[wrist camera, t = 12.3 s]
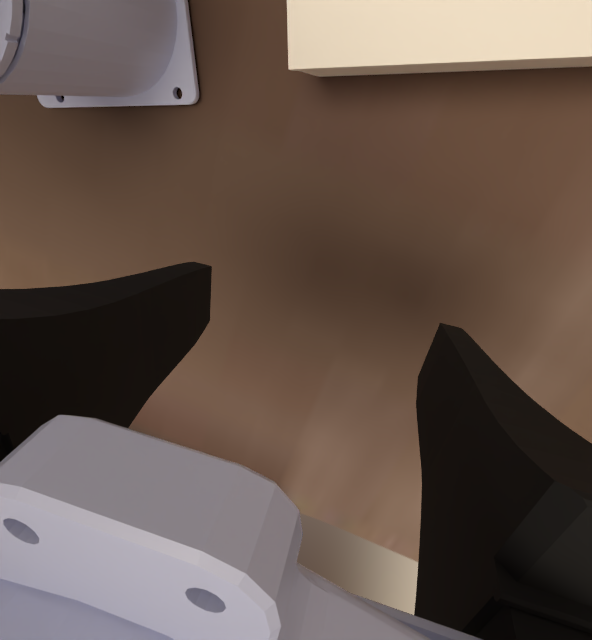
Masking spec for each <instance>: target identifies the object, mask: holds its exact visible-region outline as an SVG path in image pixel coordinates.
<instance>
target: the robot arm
mask: <svg viewBox="0 0 592 640" xmlns="http://www.w3.org/2000/svg"><path fill="white" fill-rule="evenodd" d="M178 88H180V89H181V91H182V97H181V99H179V97H178V96H177V89H178ZM0 94H7V95H37V98H38V100H39V102H40V103H41V104H42V105H43V106H44V107H46V108H68V107H111V106H154V105H192V104H195V103H196V102H197V101H198V99H199V88H198V80H197V72H196V64H195V55H194V47H193V39H192V31H191V23H190V15H189V7H188V0H0ZM61 96H64V101H63V100H62V98H61ZM211 270H212V266H209V265H205V264H201V263H196V262H188V263H182V264H177V265H173V266H168V267H164V268H160V269H156V270H152V271H148V272H144V273H140V274H135V275H130V276H126V277H121V278H116V279H112V280H107V281H101V282H95V283H88V284H80V285H72V286H63V287H48V288H32V289H0V640H592V444H591V443H590V442H588V441H587V440H585V439H584V438H582V437H581V436H580V435H578V434H577V433H575V432H574V431H572V430H571V429H569V428H568V427H567V426H565V425H564V424H563V423H561V422H560V421H559V420H557V419H556V418H555V417H554V416H552V415H551V414H550V413H549V412H547V411H546V410H545V409H544V408H542V407H541V406H540V405H539V404H537V403H536V402H535V401H534V400H533V399H532V398H530V397H529V396H528V395H527V394H526V393H525V392H524V391H523V390H522V389H521V388H519V387H518V386H517V385H516V384H515V383H514V382H513V381H512V380H511V379H510V378H509V377H508V376H507V375H506V374H505V373H504V372H503V371H502V370H501V369H500V368H499V367H498V366H497V365H496V364H495V363H494V362H493V361H492V360H491V359H490V357H489V356H488V355H487V354H486V353H485V352H484V351H483V350H482V349H481V348H480V347H479V345H478V344H477V343H476V342H475V341H474V340H473V339H472V338H471V337H470V336H469V335H468V334H467V333H466V332H465V331H464V330H463V329H462V328H458V327H454V326H450V325H446V324H442V323H440V325H439V327H438V330H437V332H436V334H435V337H434V339H433V342H432V344H431V347H430V349H429V351H428V354H427V356H426V359H425V361H424V364H423V366H422V369H421V371H420V373H419V376H418V385H417V400H416V408H417V422H418V434H419V445H420V457H421V469H422V503H421V528H420V548H419V563H418V577H417V592H416V603H415V614H414V615H412V614H409V613H406V612H403V611H400V610H397V609H394V608H392V607H389V606H386V605H383V604H380V603H377V602H375V601H372V600H369V599H366V598H363V597H360V596H358V595H355V594H352V593H350V592H348V591H346V590H344V589H343V588H341V587H339V586H337V585H335V584H334V583H332V582H330V581H328V580H327V579H325V578H323V577H322V576H320V575H318V574H316V573H315V572H313V571H311V570H310V569H308V568H306V567H304V566H303V565H301V564H299V563H297V557H298V553H299V549H300V545H301V541H302V536H303V532H302V525H301V519H300V512H299V509H298V508H297V507H296V505H295V504H294V503H293V502H292V501H291V500H290V499H289V497H288V496H287V495H286V494H285V493H284V492H283V491H282V490H281V489H280V487H279V486H278V485H277V484H276V483H275V482H274V481H273V480H271V479H269V478H267V477H265V476H263V475H261V474H259V473H257V472H255V471H253V470H251V469H249V468H247V467H245V466H243V465H241V464H237V463H234V462H231V461H228V460H225V459H222V458H219V457H215V456H212V455H209V454H206V453H203V452H200V451H197V450H194V449H190V448H187V447H184V446H181V445H178V444H175V443H172V442H168V441H165V440H162V439H159V438H156V437H153V436H150V435H147V434H143V433H140V432H137V431H134V430H131V429H128V427H129V426H130V424H131V423H132V421H133V420H134V419H135V417H136V416H137V414H138V413H139V411H140V410H141V408H142V407H143V405H144V404H145V403H146V401H147V400H148V398H149V397H150V396H151V395H152V393H153V392H154V391H155V390H156V388H157V387H158V386H159V385H160V384H161V383H162V382H163V380H164V379H165V378H166V377H167V376H168V375H169V374H170V372H171V371H172V370H173V369H174V368H175V367H176V366H177V364H178V363H179V362H180V361H181V360H182V359H183V358H184V356H185V355H186V354H187V353H188V352H189V351H190V349H191V348H192V347H193V346H194V345H195V343H196V342H197V340H198V339H199V337H200V336H201V334H202V333H203V331H204V329H205V328H206V326H207V324H208V323H209V321H210V299H211Z"/></svg>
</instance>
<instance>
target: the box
mask: <svg viewBox="0 0 592 640" xmlns="http://www.w3.org/2000/svg"><path fill="white" fill-rule="evenodd" d="M565 67H592V58H583V59H560V60H536V61H512V62H488V63H464V64H440V65H417V66H393V67H369V68H345V69H321V70H298V71H301V72H304V73H308V74H311V75H314V76H318V77H327V76H354V75H380V74H407V73H433V72H459V71H486V70H512V69H539V68H565Z"/></svg>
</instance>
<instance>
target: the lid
mask: <svg viewBox="0 0 592 640" xmlns="http://www.w3.org/2000/svg"><path fill="white" fill-rule="evenodd" d="M287 25H288V69H289V70H292V71H298V70H321V69H345V68H369V67H393V66H417V65H440V64H464V63H488V62H512V61H536V60H560V59H583V58H592V0H287Z"/></svg>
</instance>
